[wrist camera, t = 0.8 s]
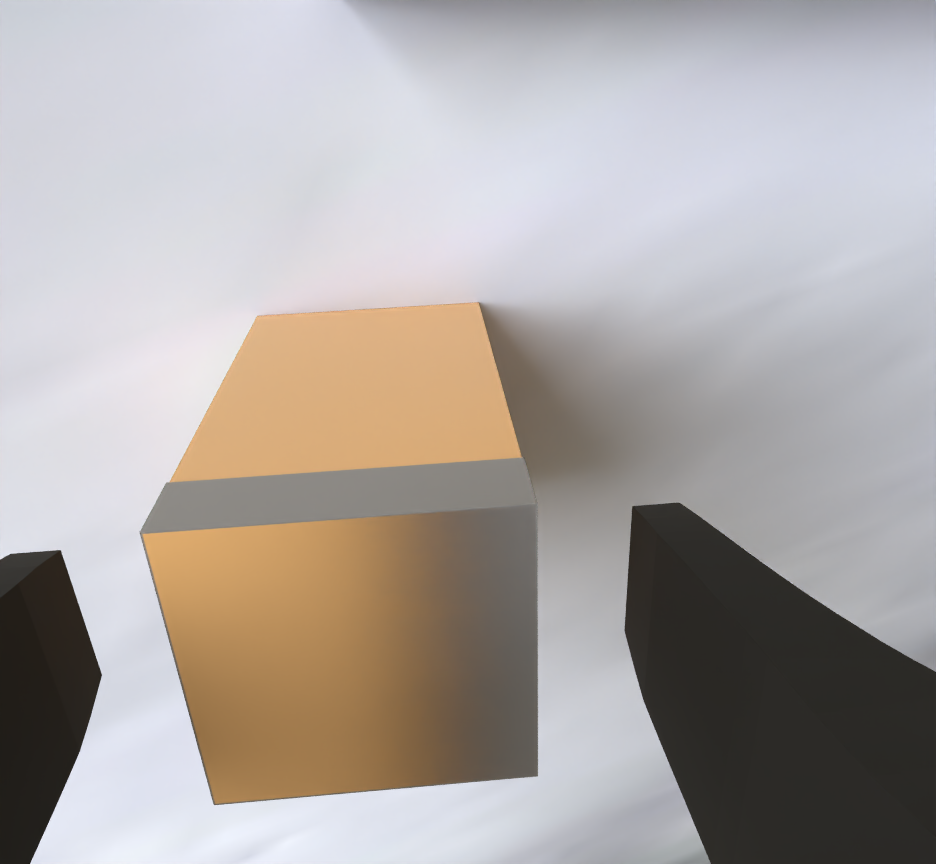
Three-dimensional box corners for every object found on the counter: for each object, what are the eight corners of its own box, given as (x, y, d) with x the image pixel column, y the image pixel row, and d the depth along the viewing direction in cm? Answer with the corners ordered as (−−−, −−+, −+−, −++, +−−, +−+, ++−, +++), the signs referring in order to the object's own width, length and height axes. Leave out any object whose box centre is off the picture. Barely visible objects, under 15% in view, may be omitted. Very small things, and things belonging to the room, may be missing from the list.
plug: (479, 301, 14) (537, 503, 8) (486, 491, 16) (537, 775, 10) (255, 314, 14) (138, 532, 8) (287, 505, 16) (214, 805, 10)
